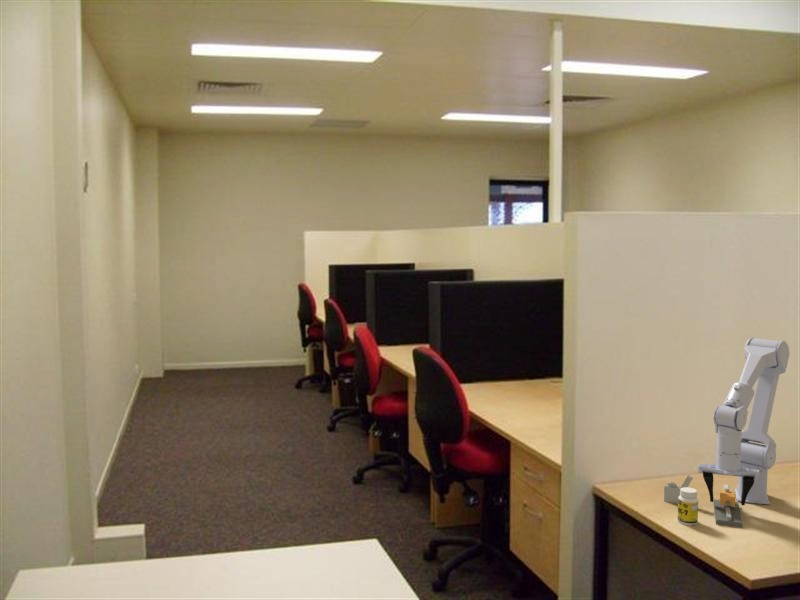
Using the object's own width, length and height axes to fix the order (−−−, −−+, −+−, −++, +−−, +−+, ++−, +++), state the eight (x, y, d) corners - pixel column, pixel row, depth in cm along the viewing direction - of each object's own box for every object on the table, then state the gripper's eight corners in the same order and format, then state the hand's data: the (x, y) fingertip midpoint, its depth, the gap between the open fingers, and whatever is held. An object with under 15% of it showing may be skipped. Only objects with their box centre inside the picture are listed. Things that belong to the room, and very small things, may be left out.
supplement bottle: (673, 520, 190) (674, 488, 189) (687, 517, 191) (688, 485, 191) (687, 526, 185) (688, 494, 184) (701, 523, 187) (702, 491, 186)
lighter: (663, 501, 203) (664, 472, 202) (665, 499, 204) (666, 470, 203) (690, 506, 199) (691, 477, 198) (692, 504, 200) (693, 475, 199)
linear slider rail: (713, 503, 201) (714, 482, 200) (737, 506, 198) (738, 485, 198) (716, 524, 187) (716, 501, 186) (742, 527, 184) (743, 504, 184)
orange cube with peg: (719, 499, 197) (719, 490, 197) (733, 500, 196) (734, 492, 195) (720, 506, 192) (720, 497, 192) (735, 508, 191) (735, 499, 190)
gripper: (699, 453, 192) (697, 504, 193) (761, 458, 187) (759, 511, 188) (698, 445, 198) (697, 495, 200) (758, 450, 193) (756, 501, 195)
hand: (727, 502), depth 194 cm, fingers open, 7 cm apart
